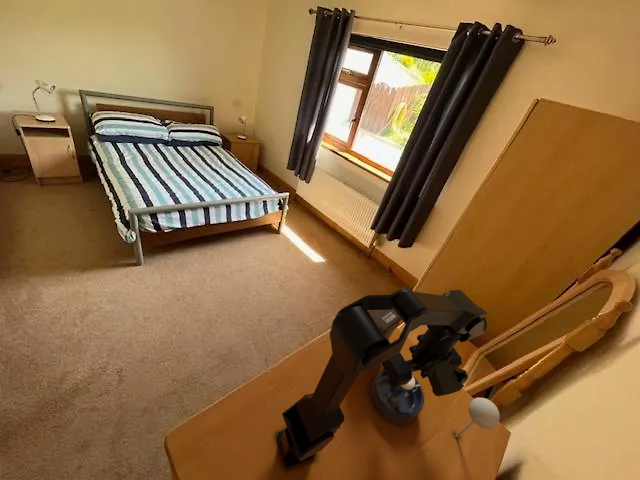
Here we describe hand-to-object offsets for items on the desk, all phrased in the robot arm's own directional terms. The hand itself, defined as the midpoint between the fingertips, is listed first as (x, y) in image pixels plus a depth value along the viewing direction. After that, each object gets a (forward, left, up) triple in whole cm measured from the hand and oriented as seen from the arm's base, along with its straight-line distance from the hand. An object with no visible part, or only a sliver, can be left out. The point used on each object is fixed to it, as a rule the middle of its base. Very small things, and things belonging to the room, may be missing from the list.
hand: (407, 380), depth 72 cm
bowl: (0, 0, -8) cm, 8 cm away
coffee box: (-1, +14, -9) cm, 16 cm away
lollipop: (+11, -12, -9) cm, 18 cm away
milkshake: (0, 0, -8) cm, 8 cm away
